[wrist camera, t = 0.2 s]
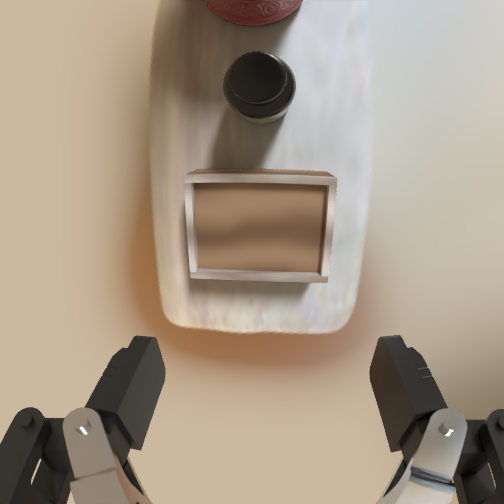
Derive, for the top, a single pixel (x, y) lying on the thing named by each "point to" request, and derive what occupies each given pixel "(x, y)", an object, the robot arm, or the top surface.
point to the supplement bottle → (259, 87)
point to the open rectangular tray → (260, 224)
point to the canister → (253, 10)
